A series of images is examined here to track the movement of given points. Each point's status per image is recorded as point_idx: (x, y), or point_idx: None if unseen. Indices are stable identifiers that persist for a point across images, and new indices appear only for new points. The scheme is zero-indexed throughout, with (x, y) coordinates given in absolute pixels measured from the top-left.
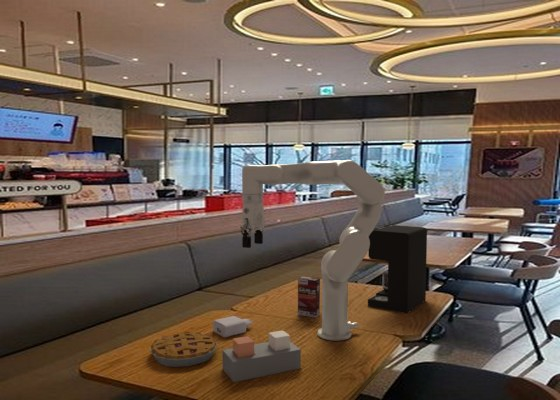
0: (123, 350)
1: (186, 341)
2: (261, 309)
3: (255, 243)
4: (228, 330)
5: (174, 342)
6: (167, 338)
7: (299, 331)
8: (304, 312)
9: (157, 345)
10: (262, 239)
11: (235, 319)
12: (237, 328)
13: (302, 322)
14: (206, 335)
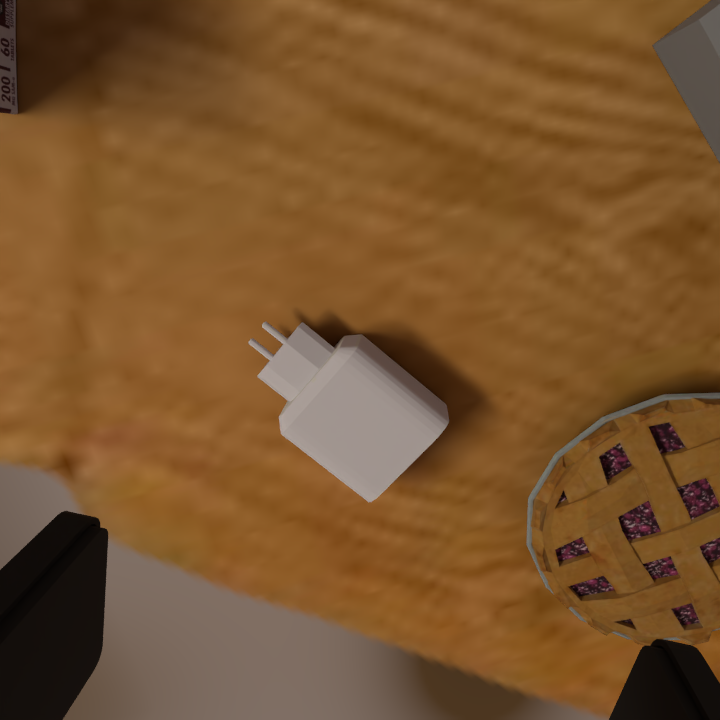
0: None
1: (686, 530)
2: (4, 340)
3: (95, 637)
4: (437, 405)
5: (696, 571)
6: (643, 611)
7: (277, 47)
8: (3, 64)
9: (707, 620)
10: (16, 569)
11: (343, 405)
12: (397, 371)
13: (128, 59)
14: (564, 475)
